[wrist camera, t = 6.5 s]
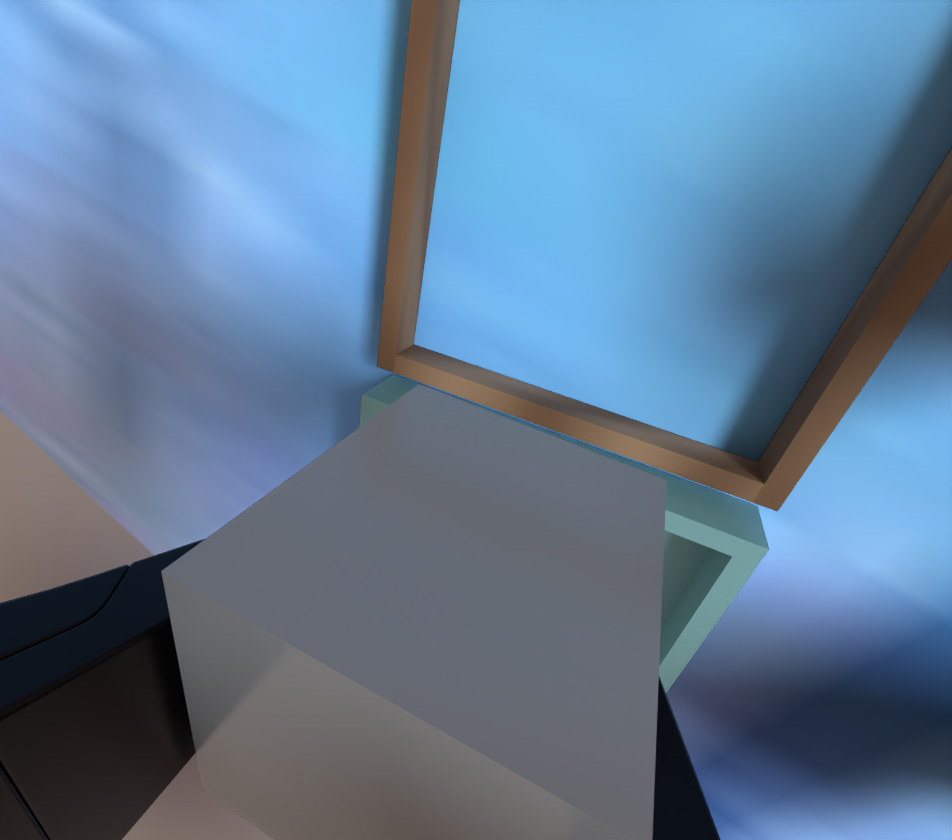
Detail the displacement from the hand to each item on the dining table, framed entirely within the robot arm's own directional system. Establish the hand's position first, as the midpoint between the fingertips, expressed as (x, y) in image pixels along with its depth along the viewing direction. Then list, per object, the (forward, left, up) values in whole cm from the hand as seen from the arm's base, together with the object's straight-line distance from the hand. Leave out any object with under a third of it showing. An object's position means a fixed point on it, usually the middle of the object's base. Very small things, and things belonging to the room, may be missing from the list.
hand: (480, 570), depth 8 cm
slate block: (0, 0, -1) cm, 1 cm away
